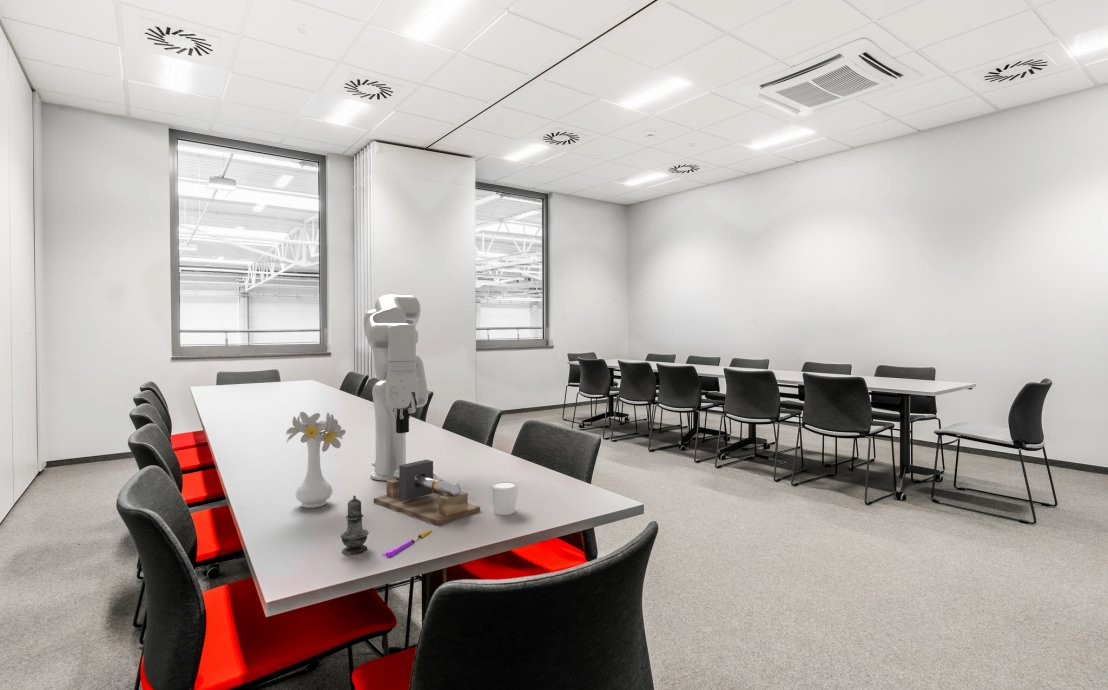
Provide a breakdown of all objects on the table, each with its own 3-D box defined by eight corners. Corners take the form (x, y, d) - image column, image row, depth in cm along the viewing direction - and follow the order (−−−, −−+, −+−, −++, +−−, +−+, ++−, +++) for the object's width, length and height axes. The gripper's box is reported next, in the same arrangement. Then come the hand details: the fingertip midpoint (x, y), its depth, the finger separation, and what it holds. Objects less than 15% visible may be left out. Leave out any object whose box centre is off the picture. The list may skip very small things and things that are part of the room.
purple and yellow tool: (390, 558, 114) (433, 533, 129) (389, 553, 114) (432, 528, 129) (380, 559, 115) (423, 534, 130) (379, 554, 115) (422, 529, 130)
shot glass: (510, 517, 139) (510, 490, 139) (486, 513, 142) (486, 487, 142) (521, 509, 146) (521, 483, 146) (498, 506, 148) (498, 480, 148)
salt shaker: (352, 557, 114) (351, 501, 114) (334, 551, 117) (334, 496, 117) (374, 548, 119) (374, 494, 119) (357, 542, 122) (356, 489, 122)
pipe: (393, 479, 155) (393, 470, 154) (401, 477, 157) (401, 468, 157) (453, 497, 138) (453, 487, 138) (461, 495, 140) (461, 484, 140)
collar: (399, 498, 147) (399, 465, 147) (426, 490, 154) (426, 459, 154) (406, 500, 146) (405, 467, 145) (433, 493, 152) (433, 461, 152)
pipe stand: (373, 502, 151) (373, 482, 151) (415, 491, 162) (415, 472, 162) (437, 525, 133) (437, 503, 133) (480, 511, 144) (480, 490, 144)
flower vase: (321, 517, 139) (320, 419, 138) (273, 506, 147) (272, 414, 146) (360, 502, 150) (359, 412, 150) (313, 493, 159) (313, 408, 158)
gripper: (375, 367, 155) (375, 431, 155) (406, 368, 145) (407, 437, 146) (397, 366, 161) (398, 428, 161) (429, 367, 151) (430, 433, 151)
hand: (402, 432), depth 153 cm, fingers closed
